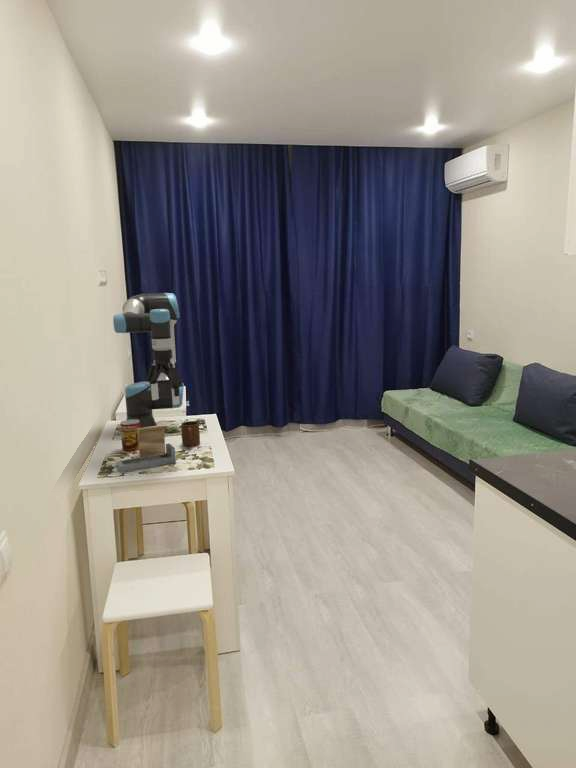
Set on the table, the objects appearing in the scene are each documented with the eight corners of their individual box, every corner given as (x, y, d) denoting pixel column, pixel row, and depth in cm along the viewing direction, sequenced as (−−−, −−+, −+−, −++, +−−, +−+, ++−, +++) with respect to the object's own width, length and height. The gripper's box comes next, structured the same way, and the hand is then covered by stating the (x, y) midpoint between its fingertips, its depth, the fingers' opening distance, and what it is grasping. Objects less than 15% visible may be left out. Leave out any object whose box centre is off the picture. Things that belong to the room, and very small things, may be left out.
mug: (199, 449, 237) (198, 427, 236) (181, 450, 236) (179, 428, 235) (200, 441, 249) (199, 420, 247) (182, 442, 248) (181, 421, 246)
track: (116, 467, 217) (115, 452, 216) (170, 457, 227) (169, 443, 226) (120, 472, 211) (119, 457, 210) (175, 462, 221) (174, 448, 220)
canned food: (119, 452, 236) (117, 424, 234) (125, 446, 244) (123, 419, 242) (138, 452, 236) (136, 424, 234) (143, 446, 244) (141, 419, 241)
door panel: (139, 457, 229) (137, 428, 227) (163, 453, 234) (161, 424, 231) (141, 459, 226) (138, 430, 224) (165, 454, 231) (163, 426, 229)
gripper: (135, 347, 227) (139, 399, 231) (173, 352, 211) (177, 408, 215) (151, 345, 233) (154, 396, 237) (189, 350, 216) (192, 404, 221)
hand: (165, 402), depth 226 cm, fingers open, 13 cm apart
